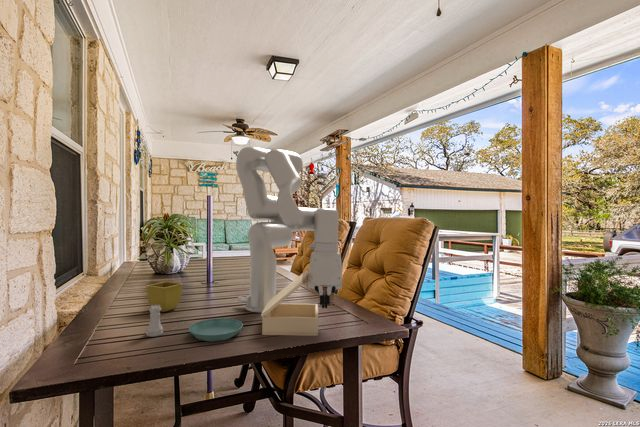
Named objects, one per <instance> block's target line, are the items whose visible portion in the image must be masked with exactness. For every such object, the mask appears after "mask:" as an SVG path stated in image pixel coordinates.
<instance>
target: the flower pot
mask: <svg viewBox="0 0 640 427" xmlns="http://www.w3.org/2000/svg"><path fill="white" fill-rule="evenodd" d="M183 285H184V283H181V282H170V281H162V282H161V281H160V282H156V283H152V284H148V285H146V286H145V287H146V295H147V300H148V302H149V303H148V304H149V306H152V305H153V307H154V305H156V306H158V305H160V307H161V311H160V312H162V313H163V312H164V313H165V312H169V311H172V310H174V309H176V308H177V306H178V305H179V303H180V302H181V299H182V293H183V289H184V288H183Z"/></svg>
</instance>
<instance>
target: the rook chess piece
mask: <svg viewBox="0 0 640 427" xmlns="http://www.w3.org/2000/svg"><path fill="white" fill-rule="evenodd" d="M149 306H150V307H149V308H148V309H149V310H148V311H149V312H150V314H149V317H150V319H149V324H148V326H147V328H146V333H145V335H146V336H147V337H148V338H149V337H150V338H151V337H152V338H153V337H154V338H155V337H160V336H161V335H163V334H164V331H163V330H164V327H163V326H162V324H161V317H160V316H161V313H160V312H162V311H161V307H160V305H158V306H156V305H154V307H153V305H152V306H151V305H149Z"/></svg>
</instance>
